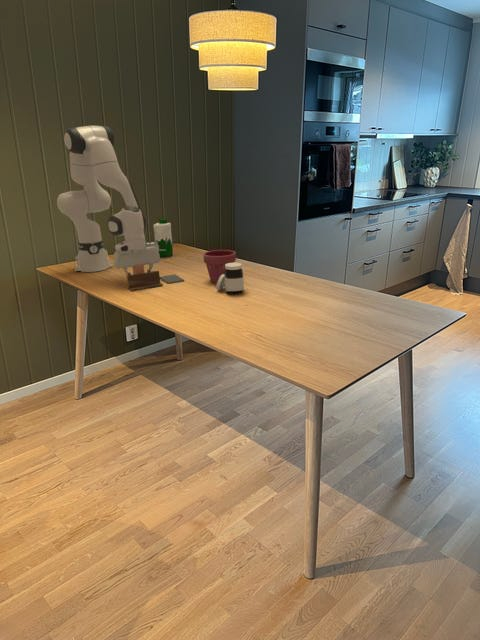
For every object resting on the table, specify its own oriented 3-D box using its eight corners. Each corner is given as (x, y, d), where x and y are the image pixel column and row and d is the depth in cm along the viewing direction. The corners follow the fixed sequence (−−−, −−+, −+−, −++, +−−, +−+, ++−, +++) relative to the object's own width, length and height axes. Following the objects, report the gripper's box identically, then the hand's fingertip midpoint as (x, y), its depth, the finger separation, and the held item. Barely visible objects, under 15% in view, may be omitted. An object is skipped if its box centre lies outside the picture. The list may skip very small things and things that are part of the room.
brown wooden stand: (128, 288, 205) (126, 275, 203) (159, 283, 211) (157, 270, 209) (131, 291, 201) (129, 277, 199) (162, 286, 207) (161, 272, 205)
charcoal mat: (159, 278, 220) (158, 276, 220) (175, 275, 223) (175, 274, 223) (167, 284, 210) (167, 282, 210) (184, 281, 213) (184, 279, 213)
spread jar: (244, 295, 190) (243, 267, 186) (216, 296, 190) (215, 268, 186) (242, 286, 202) (241, 260, 198) (216, 288, 201) (214, 261, 197)
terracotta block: (134, 282, 214) (132, 263, 211) (143, 281, 215) (140, 262, 212) (137, 284, 210) (134, 265, 207) (145, 283, 212) (143, 263, 209)
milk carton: (174, 254, 267) (171, 218, 260) (169, 258, 258) (166, 221, 251) (159, 254, 268) (156, 218, 261) (154, 258, 260) (151, 221, 253)
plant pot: (226, 274, 221) (225, 247, 216) (242, 281, 210) (241, 252, 205) (199, 280, 214) (197, 252, 209) (215, 287, 202) (213, 257, 198)
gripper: (156, 240, 214) (158, 270, 219) (111, 246, 205) (115, 277, 210) (160, 242, 209) (163, 273, 213) (114, 248, 200) (118, 280, 205)
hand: (139, 275), depth 212 cm, fingers open, 8 cm apart
